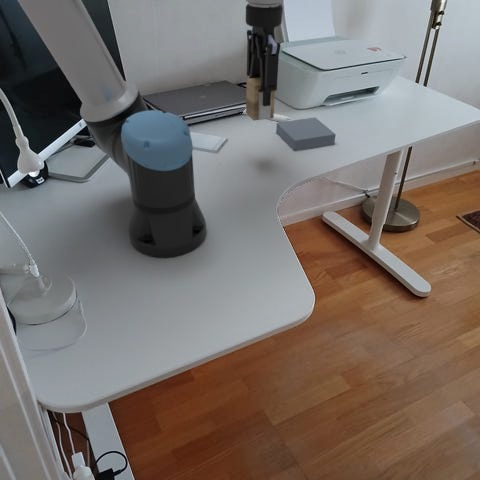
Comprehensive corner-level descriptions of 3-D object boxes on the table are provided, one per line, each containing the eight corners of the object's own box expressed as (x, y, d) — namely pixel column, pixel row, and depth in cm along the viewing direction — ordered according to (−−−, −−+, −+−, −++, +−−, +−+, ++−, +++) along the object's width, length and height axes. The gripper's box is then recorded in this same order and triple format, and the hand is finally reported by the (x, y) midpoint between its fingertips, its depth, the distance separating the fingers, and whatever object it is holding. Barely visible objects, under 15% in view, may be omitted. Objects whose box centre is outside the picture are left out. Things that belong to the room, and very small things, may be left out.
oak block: (253, 120, 104) (254, 85, 99) (246, 112, 107) (246, 78, 102) (273, 118, 105) (275, 83, 100) (265, 110, 109) (267, 76, 104)
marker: (294, 123, 134) (294, 115, 133) (291, 125, 133) (291, 118, 131) (241, 112, 141) (241, 104, 139) (237, 114, 139) (237, 106, 138)
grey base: (293, 151, 119) (294, 140, 117) (276, 132, 128) (276, 122, 126) (334, 144, 122) (335, 134, 120) (314, 127, 131) (315, 117, 129)
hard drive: (173, 142, 120) (216, 149, 117) (186, 130, 127) (227, 136, 123) (174, 148, 121) (217, 155, 118) (186, 136, 128) (227, 142, 124)
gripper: (300, 11, 86) (290, 126, 100) (265, -5, 99) (260, 99, 114) (263, 13, 84) (258, 130, 98) (232, -4, 97) (232, 102, 112)
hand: (259, 113), depth 106 cm, fingers closed on oak block, 5 cm apart
